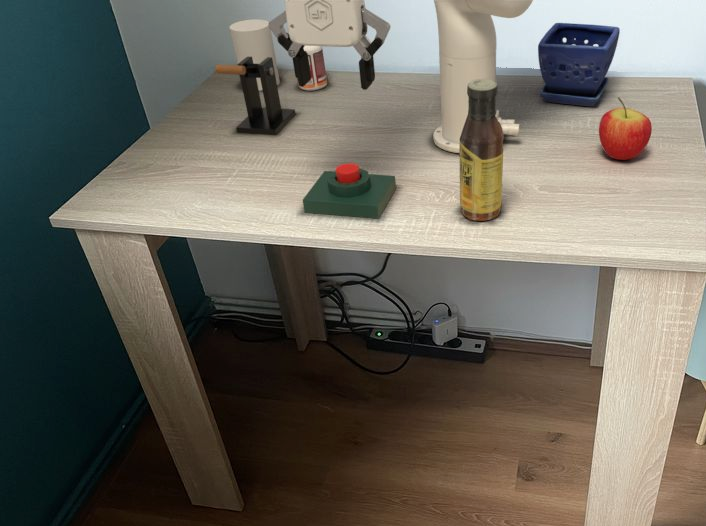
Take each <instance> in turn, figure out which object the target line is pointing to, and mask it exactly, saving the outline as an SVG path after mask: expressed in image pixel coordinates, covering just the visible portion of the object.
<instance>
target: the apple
mask: <svg viewBox="0 0 706 526" xmlns="http://www.w3.org/2000/svg"><path fill="white" fill-rule="evenodd" d="M617 99H618V101H619V102H620V103H621V105H622V106H623V107H616V108H612V109H610V110H608V111H606V112H605V113H604V114H603V115H602V117H601V118H600V121H599V126H598V136H599V137H598V138H599V142H600V144H601V147H602V149H603V150H604V152H605V153H606V155H608V156H609V157H610V158H612V159H614V160H619V161H626V160H631V159H634V158H636V157H637V156H638V155H640V154H641V153H642V152H643V151H644V149H645V148H646V147H647V146H648V144H649V142H650V139H651V136H652V130H653V129H652V126H653V125H652V122H651V120H650V118H649V117H648V116H646V115H645V114H644V113H642V112H640V111H637V110H635V109H632V108H627V107H626V106H625V103H624V102H623V100H622V99H621V98H620V96H618V97H617Z"/></svg>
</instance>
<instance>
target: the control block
mask: <svg viewBox="0 0 706 526" xmlns="http://www.w3.org/2000/svg"><path fill="white" fill-rule="evenodd" d="M359 171H360V180H358V181H356V182H353V183H340V182H338V181H337V176H336V170H334V171H333V170H332V171H330V170H323V172H322V173H321V175H320V176H319V177H318V179H317V180H316V181H315V183H314V184H313V185H312V186H311V188H310V189H309V191H307V193H306V195H305V196H303V199H302V205H303V211H304V213H306V214H307V213H308V214H318V215H331V216H341V217H343V216H344V217H354V218H367V219H380V217H381V215H382V213H383V212H384V210H385V208H386V206H387V204H388V203H389V201H390V200H391V198H392V196H393V195H394V193H395V191H396V189H397V184H396V176H395V175H389V174H375V173H369V172H368V170H365V169H363V168H361V167H359Z"/></svg>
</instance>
